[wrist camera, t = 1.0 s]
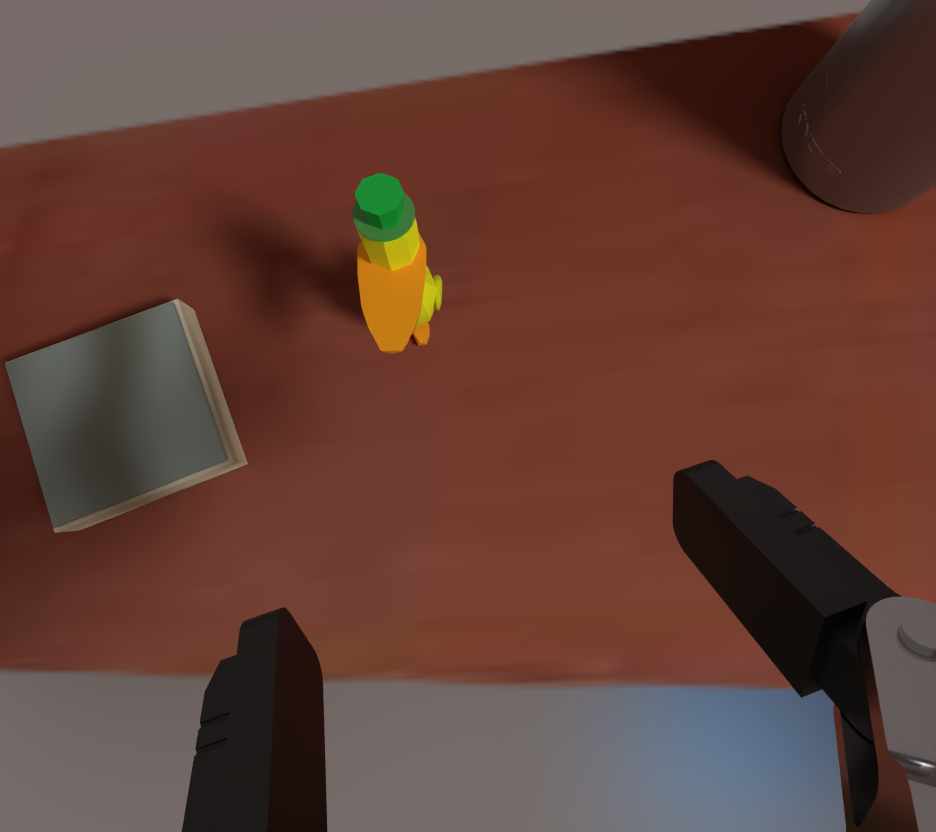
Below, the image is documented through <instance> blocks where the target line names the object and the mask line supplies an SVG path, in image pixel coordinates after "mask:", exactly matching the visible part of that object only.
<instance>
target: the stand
mask: <svg viewBox="0 0 936 832" xmlns="http://www.w3.org/2000/svg"><path fill="white" fill-rule="evenodd" d="M5 366H6V369H7V373H8V376H9V379H10V383H11V386H12V390H13V393H14V396H15V400H16V403H17V407H18V410H19V413H20V417H21V420H22V424H23V427H24V431H25V434H26V437H27V441H28V444H29V448H30V451H31V454H32V458H33V461H34V465H35V468H36V471H37V475H38V478H39V482H40V485H41V488H42V492H43V495H44V499H45V502H46V506H47V509H48V512H49V516H50V519H51V523H52V526H53V528H54V532H55V533H59V532H69V531H79V530H82V529H85V528H87V527H90V526H92V525H95V524H97V523H100V522H102V521H105V520H108V519H110V518H113V517H115V516H118V515H120V514H123V513H125V512H128V511H130V510H133V509H135V508H138V507H140V506H143V505H146V504H148V503H151V502H153V501H156V500H158V499H161V498H163V497H166V496H168V495H171V494H173V493H176V492H178V491H181V490H183V489H186V488H189V487H191V486H194V485H196V484H199V483H201V482H204V481H206V480H209V479H211V478H214V477H216V476H219V475H221V474H224V473H227V472H229V471H232V470H234V469H237V468H239V467H242V466H244V465H247V464H248V463H247V460H246V457H245V455H244V452H243V449H242V446H241V443H240V440H239V437H238V434H237V432H236V429H235V426H234V423H233V420H232V417H231V414H230V411H229V409H228V406H227V403H226V400H225V397H224V394H223V391H222V388H221V386H220V383H219V380H218V377H217V374H216V371H215V368H214V365H213V363H212V360H211V357H210V354H209V351H208V348H207V345H206V342H205V340H204V337H203V334H202V331H201V328H200V325H199V322H198V319H197V317H196V314H195V311H194V309H192V308H191V307H189V306H188V305H186V304H185V303H183V302H182V301H180V300H179V299H175V300H173V301H170V302H167V303H165V304H162V305H159V306H157V307H154V308H151V309H148V310H146V311H143V312H140V313H138V314H135V315H132V316H130V317H127V318H124V319H121V320H119V321H116V322H113V323H111V324H108V325H105V326H103V327H100V328H97V329H95V330H92V331H89V332H86V333H84V334H81V335H78V336H76V337H73V338H70V339H68V340H65V341H62V342H60V343H57V344H54V345H51V346H49V347H46V348H43V349H41V350H38V351H35V352H33V353H30V354H27V355H25V356H22V357H19V358H16V359H14V360H11V361H8V362H6V363H5Z"/></svg>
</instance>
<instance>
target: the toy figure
mask: <svg viewBox="0 0 936 832" xmlns="http://www.w3.org/2000/svg"><path fill="white" fill-rule="evenodd" d="M355 196H356V198H357V201H356V203H355V206H354V209H353V221H354V223H355V226H356V228H357V230H358V233H359V235H360V238H361V240H362V241H361V242H360V244H359V246H358V282H359V290H360V299H361V307H362V310H363V313H364V316H365V319H366V322H367V325H368V328H369V330H370V332H371V334H372V335H373V337H374V339H375V341H376V343H377V344H378V346H379V348H380V350H381V351H383V352H388V353H392V354H394V353H397V352H401V351H403V349H404V347H405V345H407V344H408V341H409V339H410V336H411V335H412V334H413V335H414V338H415V340H416V342H417V345H418V346H419V345H427V342H428V339H429V336H430V329H429V324H428V322H429V321H430V319H431V316H432V314H433V312H434V309H435V307H436V308H437V311H439V309H440V305H441V299H442V279H441V277H440V276H439V275H435V276H434V280H433V278H432V276H431V273H430V271H429V269H428V267H427V266H426V245H425V243H424V241H423V240H422V238H421V236H420V234H419V232H418V229H417V223H416V219H415V209H414V205H413V203H412V201H411V199H410V198H409V196H407V195H406V194H405V193H404V192H403V190H402V188H401V185H400V183H399V181H398V179H396V178H393V177H391V176H388V175H385V174H382V173H378V174H375V175H373V176H370V177H367V178H364V179H362V181H361V183H360V185H359V187H358V189H357V191H356V192H355Z"/></svg>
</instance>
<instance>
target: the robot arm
mask: <svg viewBox="0 0 936 832" xmlns="http://www.w3.org/2000/svg"><path fill="white" fill-rule="evenodd" d="M781 138H782V144H783V150H784V153H785V155H786V158H787V160H788V163H789V165H790V167H791V169H792V170H793V172H794V173H795V175H796V176H797V178H798V179H799V180H800V181H801V182H802V183H803V184H804V185H805V186H806V187H807V188H808V189H809V190H810V191H811V192H812V193H813V194H815V195H816V196H818V197H819V198H821V199H822V200H824V201H825V202H827V203H830V204H832V205H834V206H836V207H839V208H841V209H845V210H849V211H853V212H858V213H880V212H886V211H891V210H894V209H897V208H899V207H902V206H904V205H907V204H908V203H910V202H912V201H913V200H915V199H916V198H918V197H919V196H921V195H922V194H924V193H925V192H927V191H929V190H930V189H932V188H933V187H935V186H936V0H871V1H870V2H869V3H868V5H867V6H866V7H865V8H864V9H863V11H862V12H861V13H860V14H859V16H858V17H857V18H856V19H855V20H854V22H853V23H852V24H851V25H850V26H849V28H848V29H847V30H846V31H845V32H844V33H843V34H842V36H841V37H840V38H839V39H838V40H837V42H836V43H835V44H834V45H833V46H832V48H831V49H830V50H829V51H828V52H827V54H826V55H825V56H824V57H823V58H822V60H821V61H820V62H819V63H818V65H817V66H816V67H815V68H814V69H813V71H812V72H811V73H810V74H809V75H808V77H807V78H806V79H805V80H804V81H803V83H802V84H801V85H800V86H799V87H798V89H797V90H796V91H795V92H794V94H793V95H792V97H791V99H790V100H789V102H788V104H787V105H786V108H785V112H784V115H783V118H782V127H781ZM673 528H674V532H675V535H676V537H677V540H678V542H679V544H680V546H681V547H682V549H683V551H684V552H685V553H686V555H687V556H688V557H689V558H690V560H691V561H692V562H693V563H694V565H695V566H696V567H697V568H698V570H699V571H700V572H701V573H702V574H703V576H704V577H705V578H706V579H707V581H708V582H709V583H710V584H711V586H712V587H713V588H714V589H715V591H716V592H717V593H718V594H719V596H720V597H721V598H722V599H723V601H724V602H725V603H726V604H727V606H728V607H729V608H730V609H731V611H732V612H733V613H734V614H735V616H736V617H737V618H738V619H739V621H740V622H741V623H742V624H743V626H744V627H745V628H746V629H747V631H748V632H749V633H750V634H751V636H752V637H753V638H754V639H755V641H756V642H757V643H758V644H759V646H760V647H761V648H762V649H763V651H764V652H765V653H766V654H767V656H768V657H769V658H770V659H771V661H772V662H773V663H774V664H775V666H776V667H777V668H778V669H779V671H780V672H781V673H782V674H783V675H784V677H785V678H786V679H787V680H788V682H789V683H790V684H791V685H792V687H793V688H794V689H795V690H796V692H797V693H798V694H799V695H800V697H801V698H802V697H804V696H806V695H809V694H812V693H814V692H816V691H819V690H821V689H823V691H824V692H825V693H826V694H827V695H828V697H829V698H830V699H831V700H832V701H833V702H834V722H835V731H836V741H837V750H838V759H839V767H840V778H841V787H842V796H843V804H844V813H845V824H846V832H936V604H934V603H931V602H928V601H925V600H921V599H917V598H911V597H901V596H900V595H898V594H897V593H895V592H894V591H893V590H891V589H890V588H889V587H887V586H886V585H885V584H884V583H883V582H882V581H881V580H879V579H878V578H877V577H876V576H875V575H874V574H872V573H871V572H870V571H869V570H868V569H867V568H866V567H864V566H863V565H862V564H861V563H860V562H859V561H858V560H856V559H855V558H854V557H853V556H852V555H851V554H850V553H848V552H847V551H846V550H845V549H844V548H843V547H842V546H840V545H839V544H838V543H837V542H836V541H835V540H833V539H832V538H831V537H830V536H829V535H828V534H827V533H825V532H824V531H823V530H822V529H821V528H820V527H819V528H817V527H816V526H815V523H814V522H813V521H812V520H811V519H809V518H808V517H807V516H806V515H805V514H804V513H803V512H799V511H798V510H797V507H796V506H794V505H793V504H792V503H791V502H790V501H789V500H788V499H786V498H785V497H784V496H783V495H782V494H781V493H780V492H778V491H777V490H776V489H775V488H773V487H770V486H768V485H766V484H764V483H762V482H760V481H758V480H755V479H753V478H751V477H749V476H745V477H742V478H739V479H736V478H735V477H734V476H733V475H732V474H731V473H729V472H728V471H727V470H726V469H725V468H724V467H723V466H722V465H721V464H719V463H718V462H716V461H714V460H709V461H706V462H703V463H700V464H697V465H694V466H692V467H689V468H686V469H683V470H680V471H677V472H676V473H675V474H674V480H673ZM200 724H201V728H200V729H199V731H198V737H197V743H196V751H197V754H196V755H195V756H194V761H193V767H192V773H191V779H190V786H189V792H188V798H187V804H186V810H185V816H184V823H183V828H182V832H327V809H326V808H327V805H326V774H325V773H326V772H325V771H326V770H325V738H324V737H325V736H324V703H323V678H322V672H321V667H320V663H319V660H318V657H317V654H316V652H315V650H314V649H313V647H312V646H311V644H310V643H309V641H308V639H307V638H306V636H305V635H304V633H303V632H302V630H301V629H300V627H299V626H298V624H297V623H296V621H295V620H294V618H293V617H292V615H291V614H290V612H289V611H288V610H287V609H286V608H280V609H277V610H274V611H271V612H268V613H266V614H263V615H260V616H257V617H254V618H251V619H248V620H246V621H244V622H243V623H242V625H241V627H240V632H239V640H238V648H237V655H235V656H232V657H229V658H226V659H224V660H221V661H220V663H219V665H218V667H217V669H216V671H215V673H214V675H213V677H212V678H211V680H210V682H209V685H208V687H207V688H206V690H205V694H204V700H203V706H202V712H201V718H200Z"/></svg>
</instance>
